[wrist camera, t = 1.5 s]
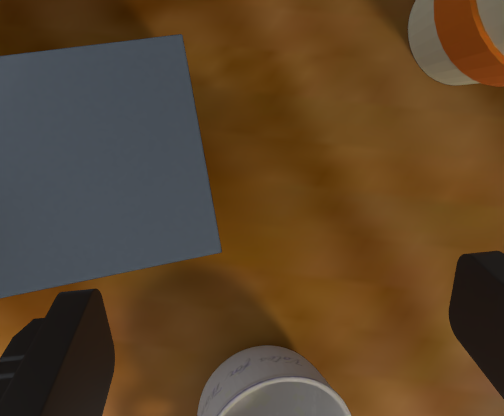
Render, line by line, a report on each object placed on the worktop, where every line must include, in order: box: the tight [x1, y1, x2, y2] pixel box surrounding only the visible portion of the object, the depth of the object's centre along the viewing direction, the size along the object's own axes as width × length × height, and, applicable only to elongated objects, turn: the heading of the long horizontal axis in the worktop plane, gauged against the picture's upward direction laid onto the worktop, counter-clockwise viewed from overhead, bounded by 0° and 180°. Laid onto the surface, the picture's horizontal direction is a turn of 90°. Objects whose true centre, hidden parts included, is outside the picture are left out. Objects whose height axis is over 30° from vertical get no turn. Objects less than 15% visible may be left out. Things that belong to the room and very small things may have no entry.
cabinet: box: [0, 34, 222, 298], centre depth 27 cm, size 15×13×9 cm
